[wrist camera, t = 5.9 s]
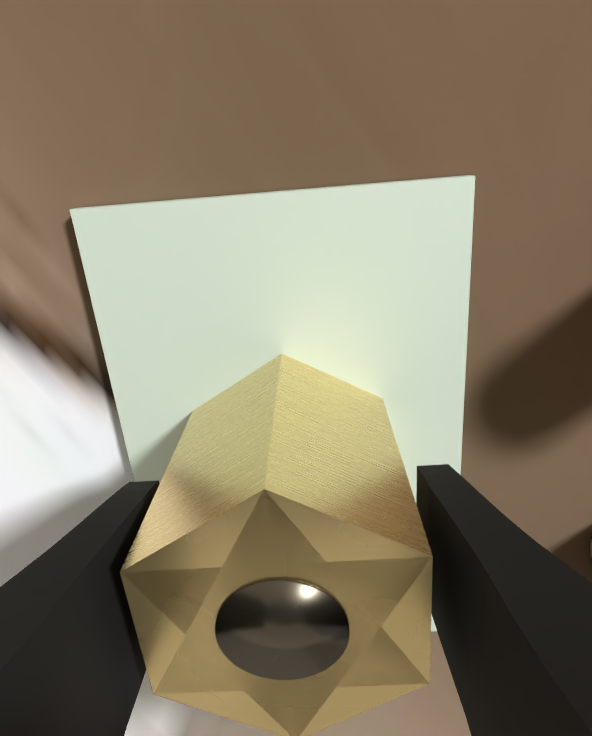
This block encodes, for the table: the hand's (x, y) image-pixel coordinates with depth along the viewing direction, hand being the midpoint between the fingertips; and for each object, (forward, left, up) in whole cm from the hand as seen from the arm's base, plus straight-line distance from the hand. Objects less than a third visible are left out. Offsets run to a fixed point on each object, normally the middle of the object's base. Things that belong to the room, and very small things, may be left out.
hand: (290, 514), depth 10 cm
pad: (0, 0, -3) cm, 3 cm away
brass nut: (0, 0, -2) cm, 2 cm away
